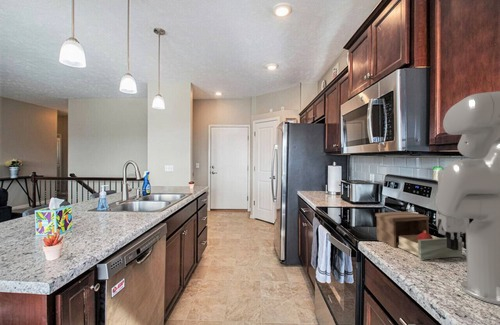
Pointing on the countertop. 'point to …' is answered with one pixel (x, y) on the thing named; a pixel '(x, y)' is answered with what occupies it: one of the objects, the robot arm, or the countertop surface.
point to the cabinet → (400, 225)
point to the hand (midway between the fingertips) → (452, 248)
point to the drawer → (429, 247)
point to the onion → (424, 236)
